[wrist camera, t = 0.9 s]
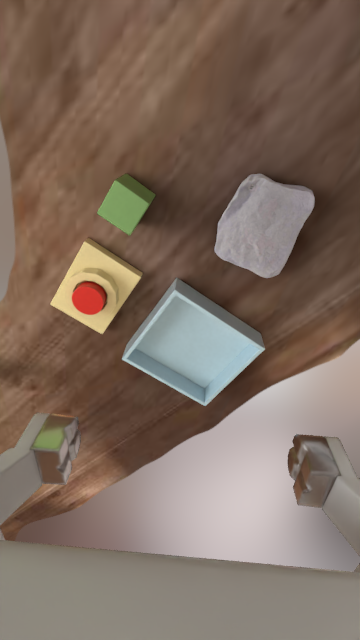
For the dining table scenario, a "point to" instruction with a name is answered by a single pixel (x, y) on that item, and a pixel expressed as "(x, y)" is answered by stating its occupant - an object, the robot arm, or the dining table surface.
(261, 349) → the basin
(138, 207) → the green block
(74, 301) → the button
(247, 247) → the stone block
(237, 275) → the dining table surface
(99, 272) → the button housing
